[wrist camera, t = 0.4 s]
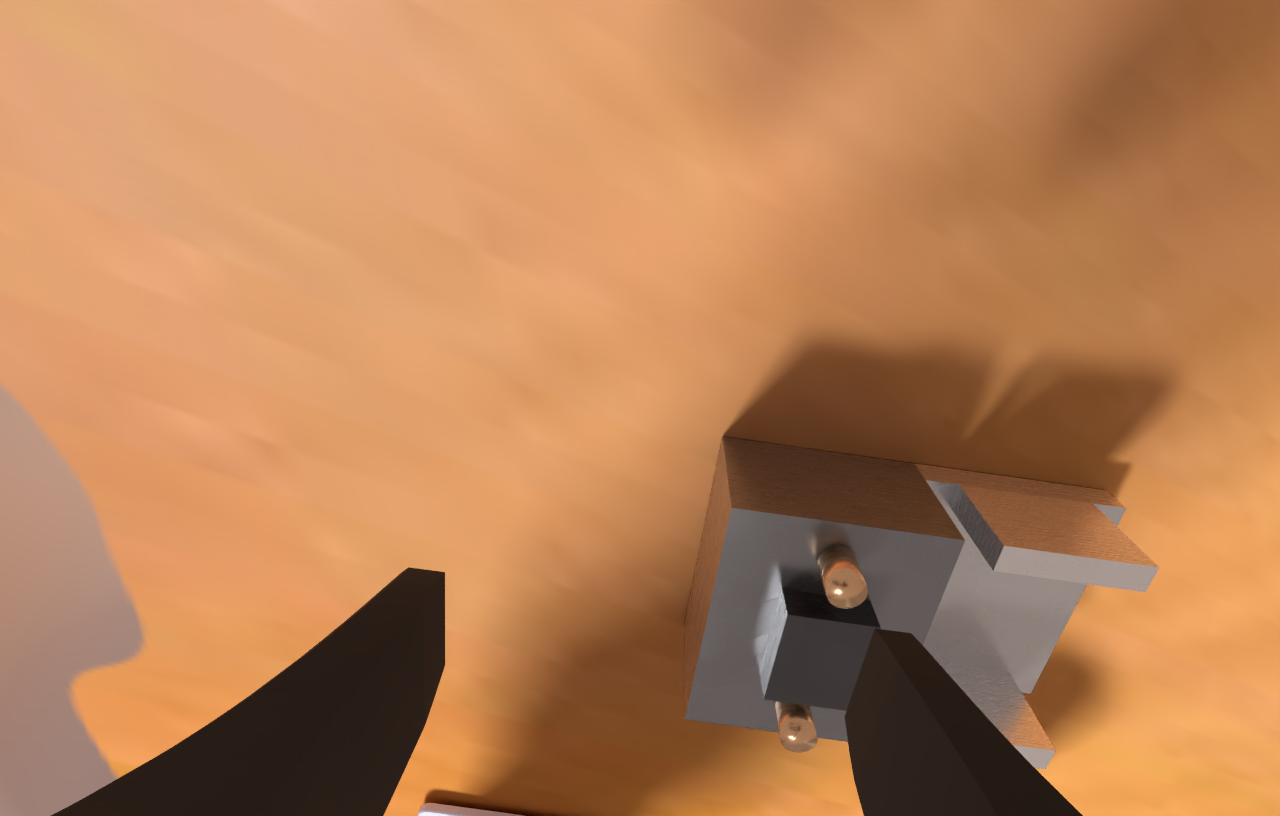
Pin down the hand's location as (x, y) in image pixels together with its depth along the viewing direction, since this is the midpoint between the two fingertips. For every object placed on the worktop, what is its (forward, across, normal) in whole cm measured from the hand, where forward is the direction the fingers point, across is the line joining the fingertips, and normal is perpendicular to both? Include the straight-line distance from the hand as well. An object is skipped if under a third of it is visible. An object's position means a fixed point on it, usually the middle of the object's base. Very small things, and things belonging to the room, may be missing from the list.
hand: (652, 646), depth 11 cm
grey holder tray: (+10, -8, +5) cm, 13 cm away
